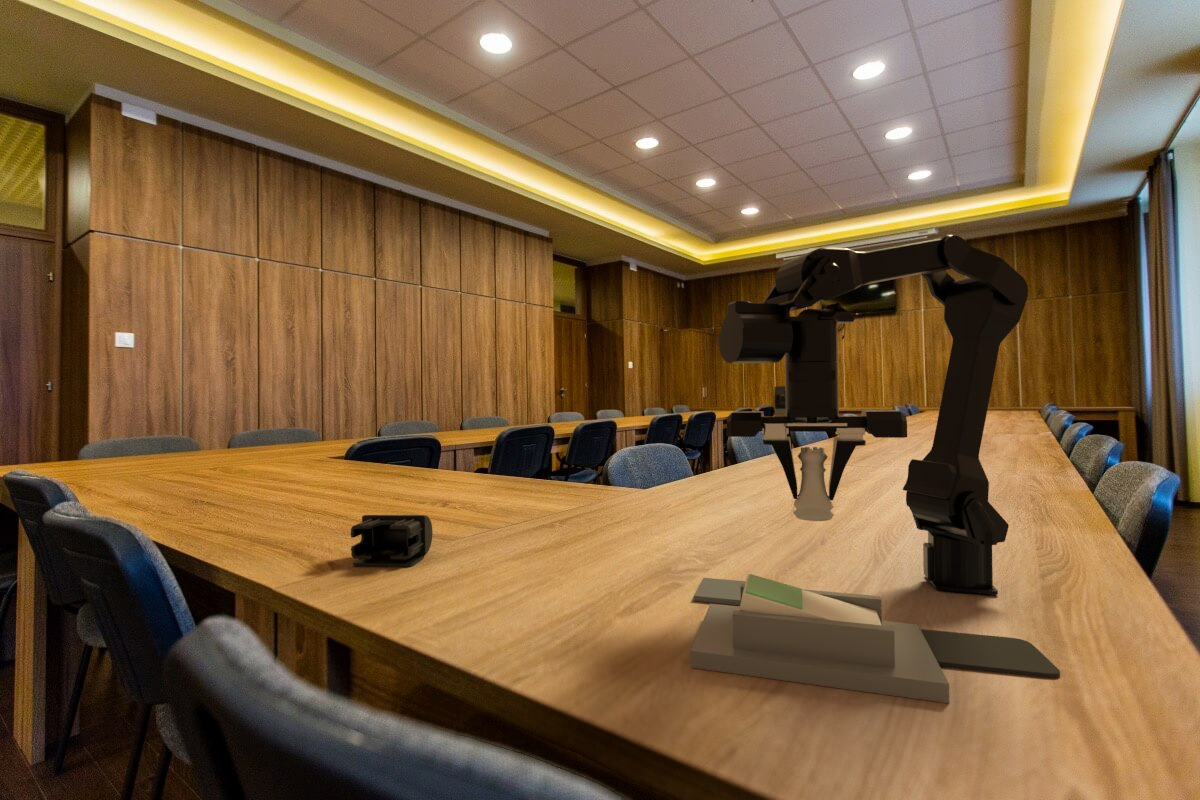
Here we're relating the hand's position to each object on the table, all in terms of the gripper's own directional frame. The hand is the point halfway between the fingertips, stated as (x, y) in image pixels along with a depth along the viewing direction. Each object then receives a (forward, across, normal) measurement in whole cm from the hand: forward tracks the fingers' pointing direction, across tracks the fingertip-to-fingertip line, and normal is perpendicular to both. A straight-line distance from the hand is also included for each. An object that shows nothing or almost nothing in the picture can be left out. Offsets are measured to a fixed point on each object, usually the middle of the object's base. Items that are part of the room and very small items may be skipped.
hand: (813, 499), depth 65 cm
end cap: (+12, +60, -1) cm, 61 cm away
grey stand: (+12, +1, +14) cm, 18 cm away
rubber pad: (+12, +10, 0) cm, 15 cm away
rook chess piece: (+2, 0, 0) cm, 2 cm away
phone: (+13, -12, +9) cm, 19 cm away
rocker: (+8, +1, +14) cm, 16 cm away
